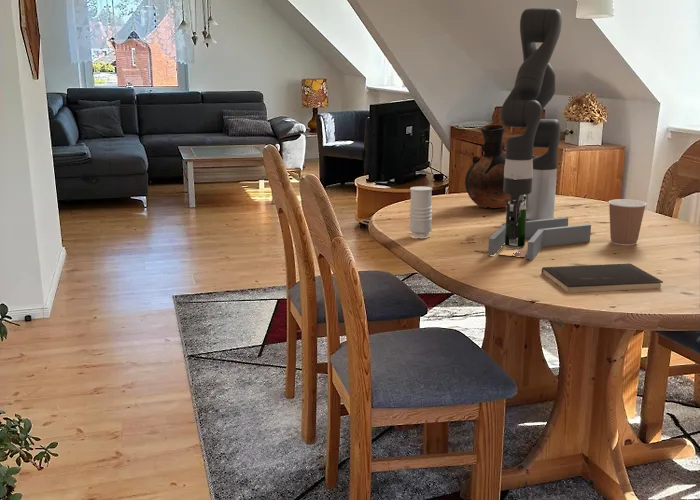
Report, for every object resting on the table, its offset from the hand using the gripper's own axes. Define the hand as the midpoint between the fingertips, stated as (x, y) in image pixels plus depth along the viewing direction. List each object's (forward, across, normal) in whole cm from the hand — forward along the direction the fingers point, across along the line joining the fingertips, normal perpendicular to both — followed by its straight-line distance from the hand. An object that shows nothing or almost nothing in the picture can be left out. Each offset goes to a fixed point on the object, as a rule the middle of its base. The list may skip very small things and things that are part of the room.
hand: (515, 236), depth 195 cm
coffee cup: (+5, -24, +27) cm, 36 cm away
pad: (+5, 0, 0) cm, 5 cm away
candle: (+5, -9, -30) cm, 32 cm away
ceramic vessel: (+5, -61, -21) cm, 65 cm away
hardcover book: (+6, +17, +24) cm, 30 cm away
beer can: (+3, 0, 0) cm, 3 cm away
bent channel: (+5, -10, +4) cm, 12 cm away
